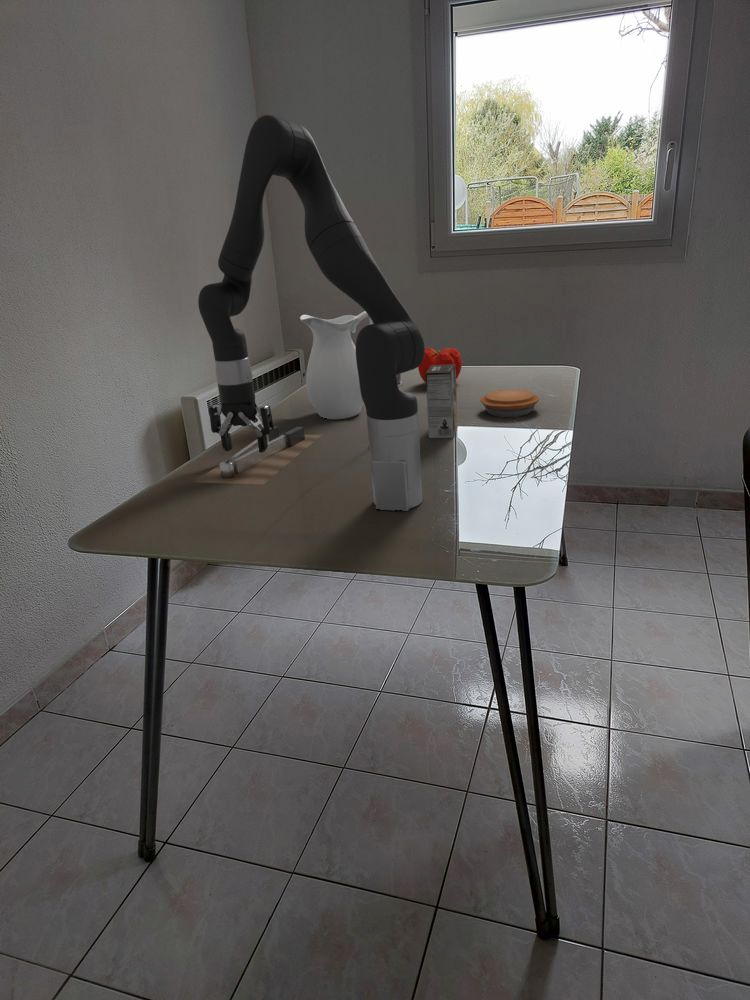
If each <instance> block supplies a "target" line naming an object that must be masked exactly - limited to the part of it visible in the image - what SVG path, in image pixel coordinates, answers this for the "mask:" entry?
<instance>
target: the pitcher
mask: <svg viewBox="0 0 750 1000" xmlns="http://www.w3.org/2000/svg"><path fill="white" fill-rule="evenodd" d="M367 317H369V315H368V314H367V313H366V311H365V310H364V311H362V312H361V313H359V314H358V315H352V314H347V315H341V316H338V317H336V318H333V319H332V318H330V319H323V318H320V317H316V316H311V315H309V314H302V315H301V316H300V317H299V320H300V322H302V323H304V324H305V325H306V326H307V327H309V329H310V330H311V333H312V337H313V339H312V340H313V341H312V347H311V351H310V355H309V357H308V362H307V367H306V375H305V385H306V392H307V395H308V399H309V402H310V404H311V405H312V407H313V409H314V410H315V411H316V413H317V414H318V415H319V416H320V417H321V418H322V417H323V418H322V419H324V418H327V419H326V420H342V419H343V420H344V419H345V420H346V419H349V418H353V417H355V416H358V415H359V414H360V413H361V411H362V409H363V407H364V406H365V404H364V402H363V399H362V396H361V391H360V384H359V376H358V369H357V362H356V344H355V343H354V341H353V339H352V335H351V333H352V334H355V333H356V331H357V330H356V329H357V326H358V325H359V324H360V322H362V320H364V319H365V318H367Z"/></svg>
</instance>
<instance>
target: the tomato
mask: <svg viewBox="0 0 750 1000" xmlns="http://www.w3.org/2000/svg"><path fill="white" fill-rule="evenodd" d="M462 362H463V361H462V357H461V353H460V352H459V351H458V349H456V348H453V347H450V348H448V347H444V348H443V349H441V350H440V349H437V350H435V349H433V348H432V347H425V354H424V359H423V361H422V363H421V364H420V365H419V366H418V367H417V368H418V372H419V376H420V378H421V379H422V380H423V381H424V383H425V384H426V372H427V370H428V369H429V367H430V366H431V365H450V364H456V380H457V379H458V378H459V376H460V374H461V371H462V365H463V364H462Z"/></svg>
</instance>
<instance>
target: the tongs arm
mask: <svg viewBox="0 0 750 1000" xmlns="http://www.w3.org/2000/svg"><path fill="white" fill-rule="evenodd" d="M282 434H283V435H282V436H280V437H278V438H276V439H274V440H272V441H270V442H268V443H267V444H268V448H267V449H266V451H265V452H263V453H260V452H259V447H258V448H256V449H254V450H252V451H250V452H248V453H247V454H245V455H243V456H241V457H239V458H237V459H235V460H233V466H234V472H235V473H240V472H242V471H243V470H245V469H247V468H249V467H251V466H253V465H255V464H256V463H258V462H260V461H262V460H264V459H266V458H268V457H269V456H271V455H273V454H275V453H277V452H279V451H281V450H282V449H284V448H286V447H288V446H290V447H291V446H293V445H295V444H297V443H299V442H301V441H302V440H304V439H305V435H306V434H305V428H304V426H296V427H294V428H292V429H290V430H288V431H286V432H285V433H282Z"/></svg>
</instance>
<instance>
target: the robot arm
mask: <svg viewBox="0 0 750 1000" xmlns="http://www.w3.org/2000/svg"><path fill="white" fill-rule="evenodd" d="M240 170H241V171H240V175H239V181H238V186H237V192H236V199H235V203H234V209H233V213H232V217H231V220H230V224H229V226H228V230H227V234H226V235H225V236H226V237H225V239H224V241H223V245H222V248H221V250H220V254H219V257H218V261H217V266H218V268H219V270H220V271H221V272H222V273H223V274H224V275H223V279H222V280H221V281H220V282H216V283H210V284H206V285H204V286H203V287H202V288H201V290H200V291H199V294H198V299H197V300H198V301H197V302H198V303H197V304H198V310H199V314H200V316H201V320H202V321H203V323H204V326H205V329H206V332H208V336H209V338H210V340H211V342H212V344H211V345H212V349H213V356H214V363H215V367H214V368H215V375H216V377H215V378H216V381H217V388H218V395H219V401H220V403H221V405H219V404H218V403H215V404H214V405H211V406H209V408H208V413H209V422H210V427H211V428H210V430H211V432H212V433H213V434H215V433H217V434H218V435H220V438H221V440H220V441H221V446H222V449H224V451H225V452H230V451H232V450H233V444H232V439H231V437H232V436H231V433H230V431H231V428H232V427H238V426H241V427H248V428H249V429H250V430H252V431H253V432H254V433H255V434H256V435H257V437H256V439H257V440H258V447H259V452H260V453H263V452H265V451H266V449H267V448H268V444H267V436H266V435H267V434H269V433H270V432H272V431H273V430H274V426H275V425H274V419H273V416H272V410H271V405H269V404H265V405H264V406H263V405H262V406H258V405H257V403H256V393H255V387H254V385H255V384H254V377H253V375H254V374H253V370H252V366H251V363H250V359H249V352H248V345H247V339H246V335H245V333H244V331H243V330H241V329H239V328H235V327H234V324H233V322H232V320H231V317H235V316H238V315H240V314H241V313H242V312H243V311H244V310H245V308H246V307H247V305H248V303H249V299H250V296H251V289H252V288H251V287H252V282H253V280H252V279H253V278H252V277H253V272H254V270H255V268H256V265H257V263H258V260H259V257H260V255H261V252H262V249H263V247H264V241H265V221H264V220H265V219H264V213H263V212H264V211H263V206H264V204H263V202H264V197H265V192H266V189H267V187H268V185H269V182H270V181H271V179H272V176H277V177H281V178H282V177H283V178H284V179H286V180H287V181H289V183H290V184H291V185H292V187H293V188H294V190H295V192H296V194H297V195H298V197H299V199H300V200H301V203H302V206H303V209H304V236H305V237H304V238H305V240H306V241H305V242H306V244H307V247H308V250H309V251H310V253H311V255H312V256H313V258H314V260H315V262H316V264H317V266H318V267H319V269H320V271H321V273H322V274H323V275H324V276H325V278H326V279H327V280H328V281H329V282H330V283H331V284H332V285H333V286H335V287H336V288H337V289H338V290H340V291H341V292H342V293H343V294H345V295H346V296H348V297H349V298H350V299H351V300H353V301H354V302H355V303H357V304H358V305H359V306H360V307H361V308H362V309H363V310H364V311H366V313H367V314H368V315H369V316H368V317H370V318H371V320H372V321H373V323H374V324H371V325H370V324H368V325H365V326H364V327H362V329H360V330H359V332H358V334H357V335H356V336H357V337H356V341H355V347H356V362H357V369H358V376H359V384H360V391H361V396H362V399H363V402H364V406H365V411H366V412H365V413H366V421H367V422H366V423H367V436H368V437H367V439H368V447H369V449H368V450H369V461H370V470H371V471H370V473H371V475H370V476H371V486H372V497H373V503H374V506H375V505H376V506H375V510H376V509H380V511H395V510H398V511H399V510H402V511H401V512H408V511H410V509H412V508H415V507H417V506H419V505H420V504H422V502H423V489H422V487H423V486H422V468H421V450H420V449H421V447H420V433H419V432H420V430H419V425H420V424H419V412H418V411H419V406H418V399H417V397H416V396H415V395H414V394H413V393H411V392H406V391H401V390H400V387H399V388H398V384H397V377H396V374H400V373H401V374H403V373H406V372H409V371H412V370H415V369H417V368H418V366H419V365H420V364H421V363H422V361H423V359H424V354H425V348H426V346H425V343H424V338H423V336H422V334H421V331H420V329H419V327H418V325H417V323H416V322H415V320H414V319H413V318H412V316H411V315H410V312H408V310H407V309H406V307H405V306H404V305H403V304H402V302H401V300H400V298H398V296H397V295H396V293H395V292H394V290H393V289H392V287H391V285H390V284H389V283H388V281H387V279H386V277H385V275H384V274H383V273H382V271H381V269H380V267H379V265H378V263H377V262H376V260H375V259H374V257H373V255H372V253H371V252H370V250H369V247H368V245H367V244H366V243H367V242H365V241H366V240H365V239H364V238H363V235H362V234H361V232H360V231H359V229H358V227H357V225H356V223H355V222H354V220H353V218H352V217H351V215H350V213H349V212H348V209H347V208H346V206H345V204H344V202H343V200H342V199H341V197H340V195H339V193H338V191H337V188H336V187H335V186H334V184H333V182H332V179H331V177H330V175H329V174H328V171H327V169H326V166H325V164H324V160H323V158H322V156H321V154H320V151H319V149H318V147H317V145H316V142H315V140H314V138H313V137H312V135H311V133H310V132H309V130H308V129H307V128H306V127H304V126H303V125H301V124H299V123H298V122H295V121H292V120H288V119H285V118H282V117H278V116H275V115H271V114H266V115H262V116H260V117H258V118H257V119H256V120H255V121H254V123H253V125H252V126H251V128H250V131H249V134H248V136H247V141H246V143H245V148H244V154H243V159H242V165H241V169H240ZM257 413H258V414H259V415H257ZM221 414H222V415H223V416H224V417H225V419H224V421H223V423H222V421H221ZM259 417H261V420H260V418H259ZM398 511H397V512H398ZM399 512H400V511H399Z"/></svg>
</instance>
